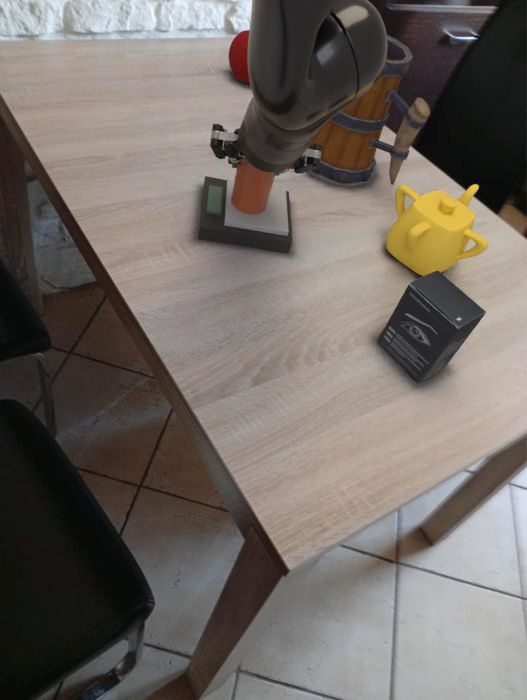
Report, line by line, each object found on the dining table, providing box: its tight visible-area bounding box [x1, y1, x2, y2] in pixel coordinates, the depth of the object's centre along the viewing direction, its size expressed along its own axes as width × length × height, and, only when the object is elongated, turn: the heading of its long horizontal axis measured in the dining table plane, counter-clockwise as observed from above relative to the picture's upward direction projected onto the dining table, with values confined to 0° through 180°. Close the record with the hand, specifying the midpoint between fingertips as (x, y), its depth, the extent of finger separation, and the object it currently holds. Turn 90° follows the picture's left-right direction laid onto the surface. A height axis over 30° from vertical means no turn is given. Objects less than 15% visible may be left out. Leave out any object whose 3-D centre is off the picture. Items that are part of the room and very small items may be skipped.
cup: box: [231, 163, 276, 214], centre depth 72 cm, size 5×5×9 cm
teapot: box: [385, 183, 489, 277], centre depth 78 cm, size 14×13×10 cm
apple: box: [228, 29, 250, 85], centre depth 103 cm, size 9×9×10 cm
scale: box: [197, 175, 293, 254], centre depth 77 cm, size 13×12×3 cm
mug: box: [306, 34, 431, 189], centre depth 85 cm, size 19×14×20 cm
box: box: [377, 271, 487, 384], centre depth 64 cm, size 8×6×11 cm
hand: (255, 164), depth 73 cm, fingers closed on cup, 5 cm apart
